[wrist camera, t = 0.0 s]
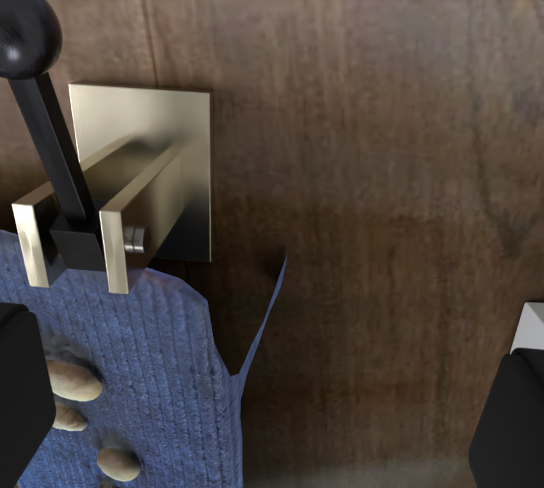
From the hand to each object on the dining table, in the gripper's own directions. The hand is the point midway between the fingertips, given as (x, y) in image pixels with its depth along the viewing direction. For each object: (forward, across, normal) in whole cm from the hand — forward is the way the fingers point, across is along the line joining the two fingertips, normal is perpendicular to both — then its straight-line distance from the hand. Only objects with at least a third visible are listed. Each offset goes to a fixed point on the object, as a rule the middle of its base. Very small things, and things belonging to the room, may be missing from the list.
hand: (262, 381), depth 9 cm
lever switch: (+13, +10, -2) cm, 16 cm away
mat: (+23, +13, +28) cm, 39 cm away
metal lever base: (+23, +10, +4) cm, 25 cm away
